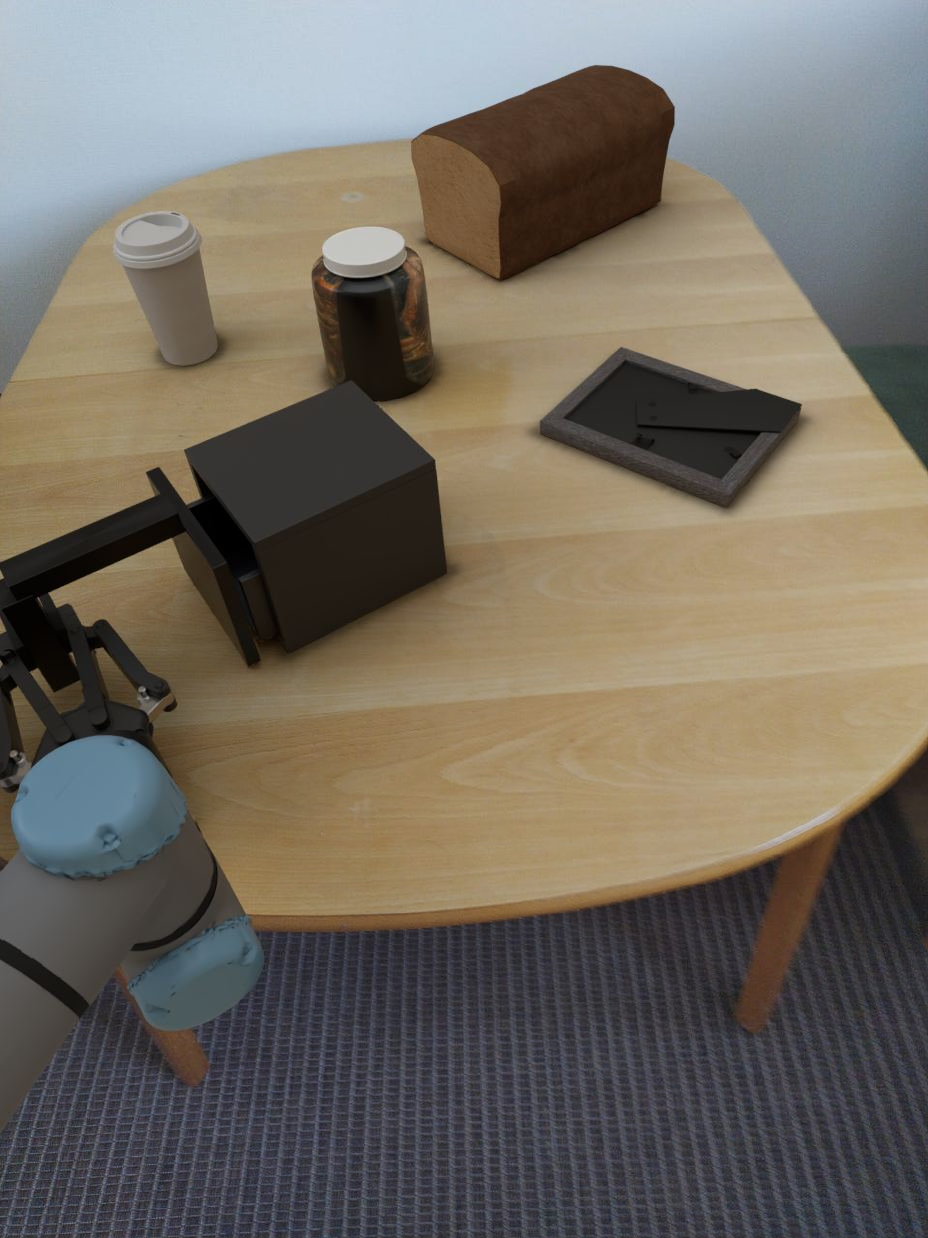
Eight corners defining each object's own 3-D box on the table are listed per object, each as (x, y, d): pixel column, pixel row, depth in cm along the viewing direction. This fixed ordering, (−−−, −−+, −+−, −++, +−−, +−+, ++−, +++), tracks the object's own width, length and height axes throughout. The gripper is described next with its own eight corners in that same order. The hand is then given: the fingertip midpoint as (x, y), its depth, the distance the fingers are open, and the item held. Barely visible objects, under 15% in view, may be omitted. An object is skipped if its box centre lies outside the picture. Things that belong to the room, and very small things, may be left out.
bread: (669, 206, 129) (682, 78, 117) (505, 288, 118) (500, 154, 106) (576, 168, 139) (580, 45, 127) (416, 239, 127) (403, 112, 115)
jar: (351, 414, 102) (328, 285, 91) (315, 361, 109) (290, 236, 98) (450, 382, 105) (439, 253, 94) (409, 332, 112) (394, 207, 101)
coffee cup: (244, 353, 111) (211, 229, 100) (168, 383, 108) (125, 259, 97) (211, 319, 117) (176, 198, 106) (138, 347, 114) (94, 225, 102)
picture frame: (798, 420, 97) (619, 358, 106) (802, 403, 95) (621, 343, 104) (726, 508, 89) (539, 433, 98) (729, 491, 87) (539, 417, 96)
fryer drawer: (83, 751, 73) (12, 642, 64) (32, 640, 82) (-38, 528, 72) (412, 584, 83) (395, 467, 74) (337, 500, 91) (313, 384, 82)
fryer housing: (288, 654, 80) (254, 543, 70) (222, 560, 88) (183, 449, 78) (447, 573, 85) (435, 459, 75) (371, 491, 93) (351, 379, 84)
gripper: (30, 894, 64) (-52, 673, 77) (240, 779, 69) (128, 590, 82) (-19, 840, 58) (-98, 611, 72) (213, 718, 63) (98, 526, 77)
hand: (23, 600), depth 77 cm, fingers closed on fryer drawer, 2 cm apart
